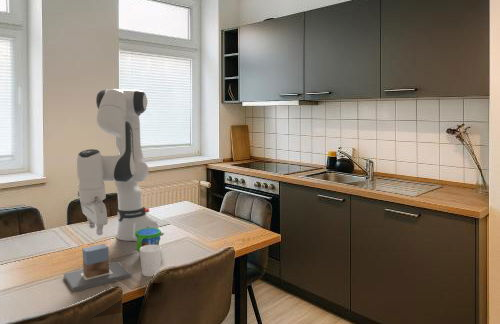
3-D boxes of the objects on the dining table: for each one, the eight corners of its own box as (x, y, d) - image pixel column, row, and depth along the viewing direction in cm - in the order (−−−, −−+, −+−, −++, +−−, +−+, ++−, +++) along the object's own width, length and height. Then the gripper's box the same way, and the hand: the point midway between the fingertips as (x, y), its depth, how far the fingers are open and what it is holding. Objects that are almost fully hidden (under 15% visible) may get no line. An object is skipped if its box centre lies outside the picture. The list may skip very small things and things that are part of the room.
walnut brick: (105, 268, 153) (104, 256, 152) (109, 272, 149) (108, 260, 148) (83, 273, 148) (82, 261, 147) (87, 278, 144) (86, 265, 144)
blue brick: (104, 256, 152) (104, 243, 151) (109, 259, 148) (108, 247, 148) (83, 261, 147) (82, 248, 146) (87, 265, 143) (86, 252, 143)
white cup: (163, 268, 157) (162, 244, 155) (159, 277, 149) (158, 251, 148) (143, 268, 157) (142, 244, 155) (138, 277, 149) (137, 252, 147)
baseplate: (117, 264, 160) (117, 261, 160) (129, 277, 149) (129, 273, 149) (64, 277, 148) (63, 273, 148) (73, 291, 137) (72, 287, 137)
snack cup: (150, 246, 181) (149, 224, 180) (169, 249, 177) (169, 227, 176) (127, 258, 167) (126, 235, 166) (147, 262, 163) (146, 238, 161)
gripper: (110, 198, 138) (113, 236, 140) (93, 188, 154) (96, 222, 156) (91, 202, 134) (95, 241, 136) (76, 191, 150) (79, 225, 152)
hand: (95, 231), depth 146 cm, fingers open, 8 cm apart
